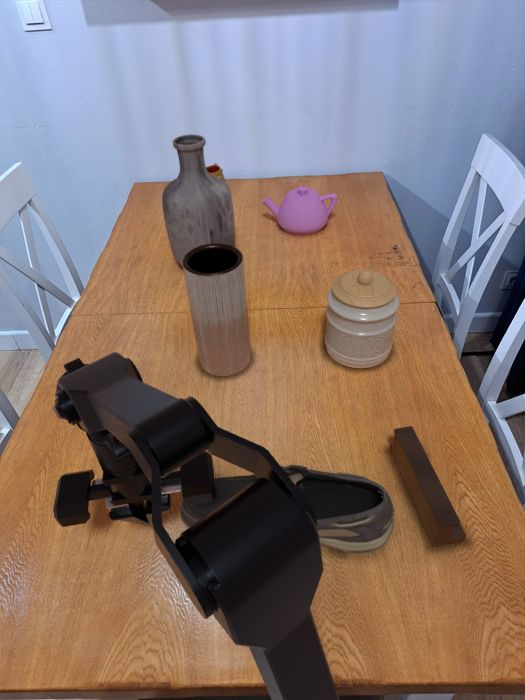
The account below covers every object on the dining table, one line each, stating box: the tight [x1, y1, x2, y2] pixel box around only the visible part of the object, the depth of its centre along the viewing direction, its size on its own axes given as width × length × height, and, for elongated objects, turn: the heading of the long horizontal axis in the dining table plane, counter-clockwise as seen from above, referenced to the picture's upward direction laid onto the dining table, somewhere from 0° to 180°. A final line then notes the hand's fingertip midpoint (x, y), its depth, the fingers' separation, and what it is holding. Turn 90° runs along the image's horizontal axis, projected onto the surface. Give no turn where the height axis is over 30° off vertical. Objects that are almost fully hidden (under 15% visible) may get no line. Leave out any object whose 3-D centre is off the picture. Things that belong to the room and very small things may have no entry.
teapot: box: [262, 185, 339, 236], centre depth 131 cm, size 14×20×11 cm
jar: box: [324, 268, 401, 369], centre depth 90 cm, size 13×13×18 cm
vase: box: [161, 134, 236, 267], centre depth 112 cm, size 16×16×30 cm
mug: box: [206, 162, 226, 182], centre depth 154 cm, size 12×7×7 cm, turn 173°
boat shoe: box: [179, 464, 395, 554], centre depth 66 cm, size 11×29×11 cm, turn 88°
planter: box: [182, 243, 252, 377], centre depth 88 cm, size 10×10×23 cm
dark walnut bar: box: [390, 425, 467, 548], centre depth 70 cm, size 16×5×6 cm, turn 9°
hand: (151, 522), depth 65 cm, fingers closed
